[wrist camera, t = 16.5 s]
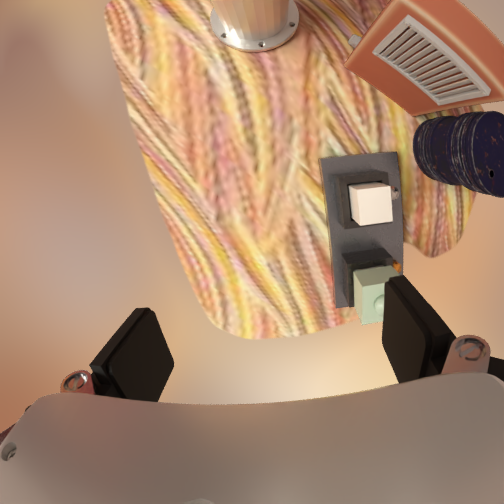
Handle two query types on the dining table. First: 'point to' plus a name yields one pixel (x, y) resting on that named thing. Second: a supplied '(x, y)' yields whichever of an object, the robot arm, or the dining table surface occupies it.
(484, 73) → the orange fan heater
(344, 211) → the breaker board
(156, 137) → the dining table surface
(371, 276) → the cap
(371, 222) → the breaker button
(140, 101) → the dining table surface
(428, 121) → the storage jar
